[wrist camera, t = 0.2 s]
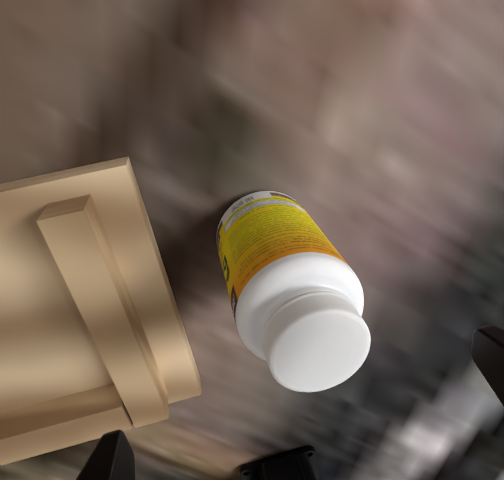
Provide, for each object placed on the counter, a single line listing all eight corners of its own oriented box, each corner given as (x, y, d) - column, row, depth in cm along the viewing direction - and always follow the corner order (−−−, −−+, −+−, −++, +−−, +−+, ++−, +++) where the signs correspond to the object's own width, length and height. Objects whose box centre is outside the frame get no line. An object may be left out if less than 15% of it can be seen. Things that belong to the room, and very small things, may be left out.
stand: (199, 377, 28) (204, 419, 25) (-39, 442, 26) (-65, 496, 23) (128, 156, 20) (122, 178, 17) (-216, 230, 18) (-291, 269, 15)
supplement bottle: (196, 218, 22) (218, 342, 13) (284, 169, 22) (366, 262, 13) (241, 287, 25) (285, 428, 16) (320, 244, 25) (409, 364, 16)
